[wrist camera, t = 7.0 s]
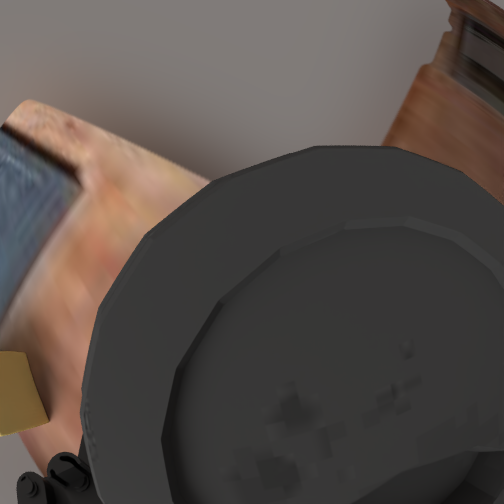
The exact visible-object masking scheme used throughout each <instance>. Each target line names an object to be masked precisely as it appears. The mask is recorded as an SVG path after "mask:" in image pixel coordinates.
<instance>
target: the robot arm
mask: <svg viewBox="0 0 504 504" xmlns="http://www.w3.org/2000/svg"><path fill="white" fill-rule="evenodd" d="M47 475H48V477H44V478H43V477H41V476H40V475H38V474H36V473H35V472H26V473H24V474H22V475H21V476H20V477H19V479H18V482H17V499H18V504H103V502H102V501H101V499H100V498H99V496H98V494H97V491H96V487H95V484H94V480H93V476H92V472H91V468H90V464H89V460H88V455H87V451H86V446H85V441H84V435H82V440H81V444H80V449H79V454H78V457H77V456H76V455H74V454H73V453H69V452H62V453H58V454H57V455H55V456H54V457H52V459H51V460H50V462H49V463H48V468H47Z"/></svg>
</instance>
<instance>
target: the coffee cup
mask: <svg viewBox="0 0 504 504" xmlns="http://www.w3.org/2000/svg"><path fill="white" fill-rule="evenodd" d="M81 389H82V401H81V407H80V418H81V424H82V430H83V435H84V441H85V446H86V451H87V455H88V460H89V464H90V468H91V472H92V476H93V480H94V484H95V487H96V491H97V494H98V496H99V498H100V499H101V501H102V502H103V504H504V206H503V205H502V204H501V203H500V202H499V201H497V200H496V199H495V198H494V197H493V196H492V195H490V194H489V193H488V192H487V191H486V190H484V189H483V188H482V187H481V186H479V185H478V184H477V183H476V182H474V181H473V180H472V179H471V178H469V177H468V176H467V175H465V174H464V173H463V172H461V171H459V170H457V169H454V168H452V167H449V166H447V165H444V164H442V163H439V162H437V161H434V160H431V159H429V158H426V157H423V156H420V155H418V154H415V153H412V152H409V151H406V150H403V149H400V148H397V147H390V146H313V147H310V148H307V149H304V150H301V151H298V152H294V153H289V154H286V155H283V156H280V157H277V158H274V159H271V160H268V161H266V162H263V163H260V164H257V165H254V166H251V167H249V168H246V169H243V170H240V171H238V172H235V173H232V174H229V175H227V176H224V177H221V178H219V179H216V180H214V181H212V182H210V183H209V184H208V185H207V186H205V187H204V188H203V189H201V190H200V191H199V192H197V193H196V194H195V195H193V196H192V197H191V198H190V199H188V200H187V201H186V202H184V203H183V204H182V205H181V206H179V207H178V208H177V209H176V210H174V211H173V212H172V213H171V214H169V215H168V216H167V217H166V218H164V219H163V220H162V221H161V222H159V223H158V224H157V225H156V226H155V227H153V228H152V229H151V230H150V231H148V232H147V233H146V234H145V235H144V237H143V238H142V239H141V241H140V242H139V244H138V245H137V247H136V248H135V250H134V251H133V253H132V255H131V256H130V258H129V259H128V261H127V262H126V264H125V265H124V267H123V268H122V270H121V272H120V273H119V275H118V276H117V278H116V280H115V281H114V283H113V284H112V286H111V288H110V289H109V291H108V293H107V294H106V296H105V298H104V299H103V301H102V303H101V304H100V306H99V308H98V312H97V316H96V320H95V324H94V328H93V332H92V337H91V341H90V346H89V351H88V355H87V360H86V366H85V371H84V377H83V382H82V388H81Z"/></svg>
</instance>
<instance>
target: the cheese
mask: <svg viewBox="0 0 504 504" xmlns="http://www.w3.org/2000/svg"><path fill="white" fill-rule="evenodd" d="M48 422H49V420H48V417H47V415H46V412H45V409H44V407H43V404H42V402H41V399H40V397H39V394H38V391H37V389H36V386H35V383H34V380H33V377H32V374H31V370H30V367H29V363H28V360H27V356H26V353H24V352H16V351H0V436H5V435H9V434H13V433H17V432H21V431H24V430H27V429H31V428H34V427H37V426H40V425H43V424H46V423H48Z"/></svg>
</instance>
